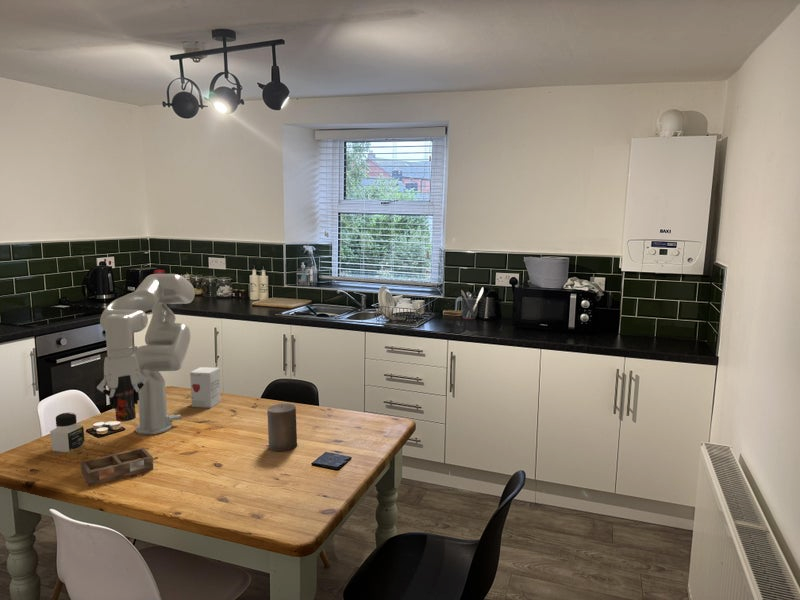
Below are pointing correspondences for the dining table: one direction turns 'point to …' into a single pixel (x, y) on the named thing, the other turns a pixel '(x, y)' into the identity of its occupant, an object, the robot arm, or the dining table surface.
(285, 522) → the dining table surface
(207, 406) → the supplement box
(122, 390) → the deodorant
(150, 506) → the dining table surface
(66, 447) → the medicine bottle
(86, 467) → the divided compartment tray
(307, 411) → the dining table surface
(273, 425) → the pillar candle
